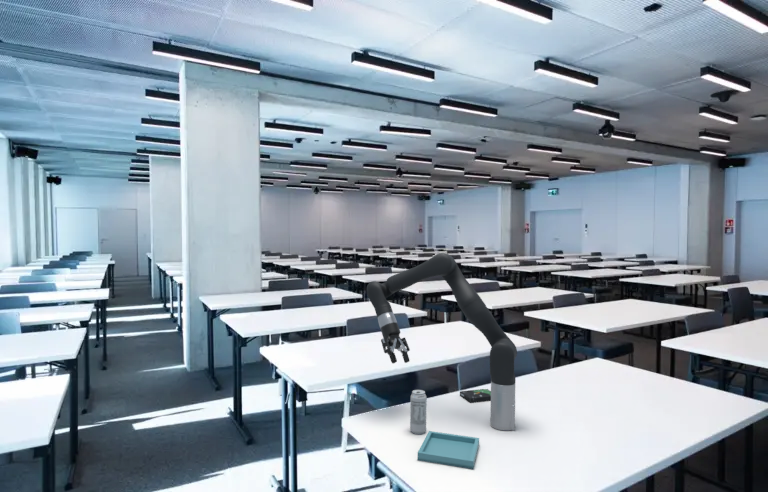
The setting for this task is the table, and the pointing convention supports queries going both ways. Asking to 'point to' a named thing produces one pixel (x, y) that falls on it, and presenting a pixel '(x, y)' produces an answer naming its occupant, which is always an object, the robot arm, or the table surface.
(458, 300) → the robot arm
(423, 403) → the energy drink can
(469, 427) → the table surface
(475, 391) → the disk drive
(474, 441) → the tray
